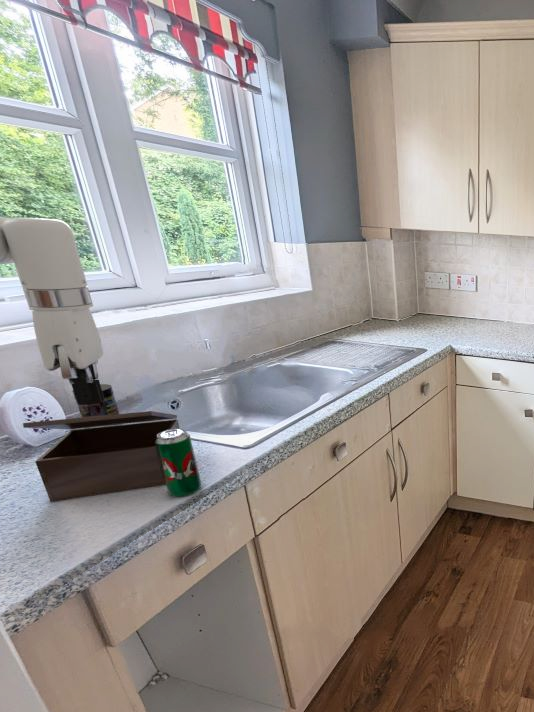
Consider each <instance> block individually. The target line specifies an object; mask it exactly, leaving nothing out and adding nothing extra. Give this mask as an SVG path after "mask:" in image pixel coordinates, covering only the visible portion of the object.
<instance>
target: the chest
mask: <svg viewBox="0 0 534 712" xmlns="http://www.w3.org/2000/svg"><path fill="white" fill-rule="evenodd" d="M170 429H181V428H180V423H179V419H178V418H177V419H169V420H159V421H149V422H139V423H130V424H122V425H112V426H102V427H93V428H80V429H69V431H68V432H66V434H65V435H63V436H62V437H61V438H60V439H59V440H58V441H56V442H55V443H54V444H53V445H52V446H51V447H50V448H49V449H48V450H46V451H45V452H44V453H43V454H42V455H41V456H40V457H38V458H37V459H36V460H35V461H34V462H35V465H36V467H37V470H38V472H39V476H40V479H41V481H42V484H43V486H44V489H45V492H46V494H47V497H48V499H49V502H57V501H64V500H71V499H77V498H84V497H85V498H86V497H90V496H91V497H92V496H99V495H104V494H110V493H112V494H113V493H117V492H125V491H131V490H138V489H145V488H152V487H157V486H165V485H166V482H165V478H164V474H163V470H162V467H161V463H160V459H159V456H158V452H157V448H156V444H155V441H156V439H157V437H156V435H157V434H158V433H160V432H163V431H166V430H170ZM166 486H167V485H166Z"/></svg>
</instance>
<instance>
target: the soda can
mask: <svg viewBox="0 0 534 712" xmlns="http://www.w3.org/2000/svg"><path fill="white" fill-rule="evenodd" d="M156 437H157V439H156V441H155V444H156V448H157V452H158V456H159V459H160V463H161V467H162V470H163V474H164V478H165V482H166V489H167V493H168V495H170V496H172V497H176V498H177V497H186V496H190V495H193V494H194V493H196V492H198V491H199V490H200V488H201V487H202V481H201V477H200V471H199V468H198V463H197V459H196V455H195V451H194V446H193V442H192V438H191V435H190V434H189V433H188V432H187V430H186V429H185V428H180V429H170V430H166V431H163V432H160V433H158V434H157V435H156Z"/></svg>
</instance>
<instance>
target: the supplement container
mask: <svg viewBox="0 0 534 712" xmlns="http://www.w3.org/2000/svg"><path fill="white" fill-rule="evenodd" d="M100 385H101V389H102V392H103V395H104V400H103V401H102V402H101V403H99V404H88V405H79V404H78V403H77V400H76V397H75V394H74V391H73V390H72V391H71V392H72V396H73V399H74V401H75V404H76V408H77V410H78V414H79V418H83V417H93V416H104V415H115V414H120V412H119V407H118V404H117V401H116V398H115V394H114V390H113V387H112V385H111V384H108V383H100ZM120 425H122V424H120ZM110 426H112V425H110ZM100 427H102V426H100ZM90 428H93V427H90Z"/></svg>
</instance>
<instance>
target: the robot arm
mask: <svg viewBox="0 0 534 712" xmlns="http://www.w3.org/2000/svg"><path fill="white" fill-rule="evenodd" d="M80 257H81V256H80V253H79V250H78V247H77V243H76V240H75V236H74V233H73V229H72V228H71V226H70V225H69V224H68V223H66V222H65V221H64V220H60V219H55V218H40V217H4V216H0V265H7V264H14V268H15V270H16V273H17V276H18V278H19V282H20V285H21V287H22V291H23V293H24V296H25V299H26V303H27V306H28V308H29V310H30V311H31V312H32V323H33V329H34V334H35V339H36V342H37V346H38V350H39V354H40V358H41V361H42V364H43V368H44V369H45V370H47V371H48V372H49V371H50V372H52V371H53V372H54V371H57V370H58V369H60V373H61V378H62V379H63V380H68V382H69V384H70V385H71V388H72V391H74V394H75V397H76V400H77V403H78V404H79V405H88V404H99V403H101V402H102V401H103V400H104V395H103V392H102V389H101V385H100V384H101V382H100V379H99V377H100V376H99V372H98V366H97V365H98V363H99V361H98V360H99V359H101V358H102V357H103V356H104V349H103V344H102V341H101V340H102V339H101V337H100V333H99V331H98V328H97V325H96V322H95V319H94V317H93V314H92V311H91V309H90V308H92V307H94V303H93V300H92V296H91V293H90V289H89V285H88V283H87V282H88V281H87V279H86V274H85V272H84V268H83V264H82V261H81V258H80Z"/></svg>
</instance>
